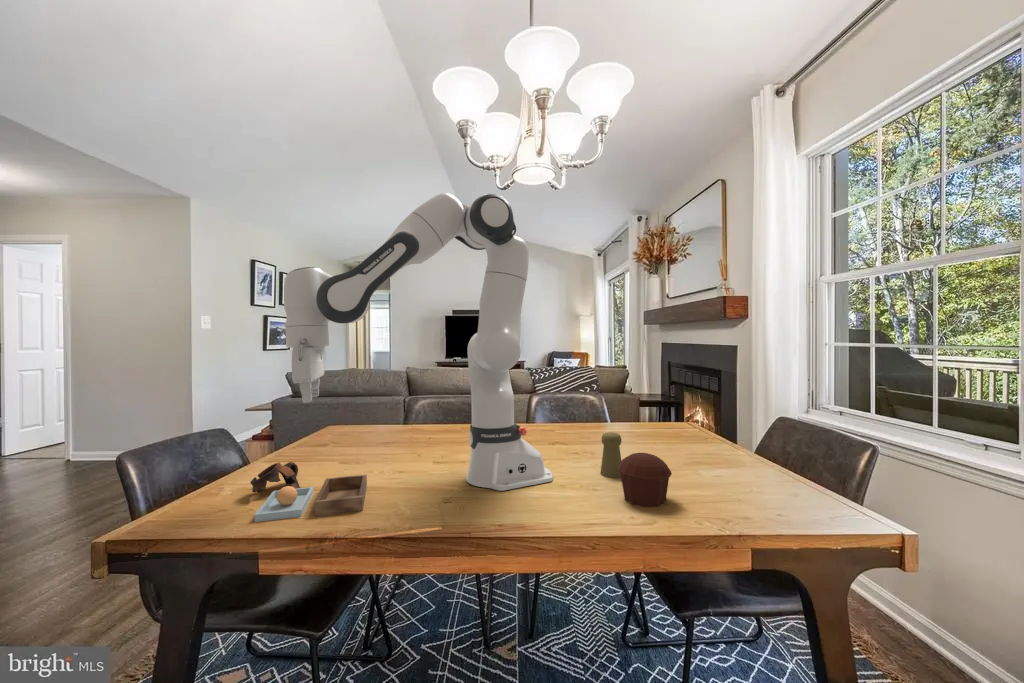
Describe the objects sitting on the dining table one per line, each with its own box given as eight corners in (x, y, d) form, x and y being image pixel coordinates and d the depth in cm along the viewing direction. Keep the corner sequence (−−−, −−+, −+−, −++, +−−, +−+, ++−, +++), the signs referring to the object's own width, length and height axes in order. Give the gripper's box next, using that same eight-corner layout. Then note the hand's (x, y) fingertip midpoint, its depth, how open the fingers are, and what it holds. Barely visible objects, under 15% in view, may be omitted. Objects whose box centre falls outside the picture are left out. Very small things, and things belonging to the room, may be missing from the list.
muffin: (682, 501, 93) (681, 456, 93) (653, 514, 86) (652, 465, 86) (637, 486, 102) (636, 445, 102) (607, 497, 96) (606, 453, 96)
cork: (626, 477, 109) (625, 435, 109) (602, 477, 109) (602, 435, 109) (620, 470, 115) (619, 430, 115) (598, 470, 115) (597, 430, 115)
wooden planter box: (366, 488, 103) (366, 474, 103) (362, 513, 88) (362, 496, 88) (326, 492, 101) (326, 478, 101) (315, 519, 86) (314, 502, 86)
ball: (298, 504, 94) (299, 485, 95) (294, 504, 90) (295, 484, 92) (278, 506, 93) (279, 487, 94) (273, 506, 89) (275, 486, 90)
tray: (313, 495, 99) (313, 486, 99) (301, 519, 86) (301, 509, 86) (273, 499, 97) (273, 490, 97) (254, 524, 84) (254, 514, 84)
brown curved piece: (291, 502, 97) (270, 474, 95) (258, 518, 98) (236, 491, 96) (315, 473, 108) (297, 447, 106) (286, 488, 110) (267, 462, 108)
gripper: (315, 338, 87) (319, 404, 87) (328, 338, 106) (331, 393, 107) (281, 339, 85) (285, 407, 85) (301, 340, 105) (304, 395, 105)
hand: (311, 399), depth 96 cm, fingers open, 8 cm apart
